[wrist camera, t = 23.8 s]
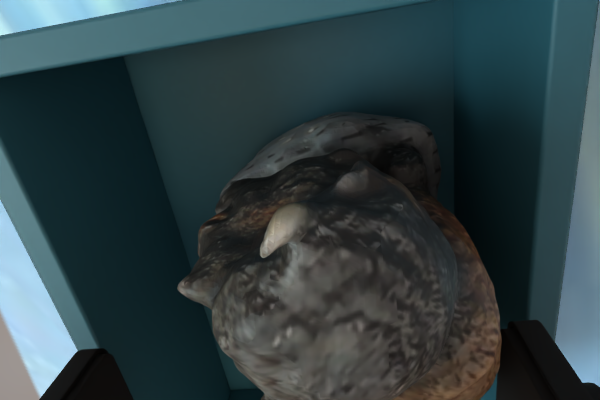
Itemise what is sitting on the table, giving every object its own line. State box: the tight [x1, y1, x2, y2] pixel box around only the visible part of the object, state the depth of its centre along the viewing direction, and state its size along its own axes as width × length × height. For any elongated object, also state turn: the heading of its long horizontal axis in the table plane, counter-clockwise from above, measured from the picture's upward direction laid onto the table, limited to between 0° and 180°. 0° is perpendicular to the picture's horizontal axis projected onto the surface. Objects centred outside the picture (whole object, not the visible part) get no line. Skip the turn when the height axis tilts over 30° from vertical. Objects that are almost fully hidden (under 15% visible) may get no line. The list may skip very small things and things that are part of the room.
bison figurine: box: [177, 112, 502, 400], centre depth 11 cm, size 12×7×10 cm, turn 6°
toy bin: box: [0, 0, 599, 400], centre depth 13 cm, size 12×17×7 cm
